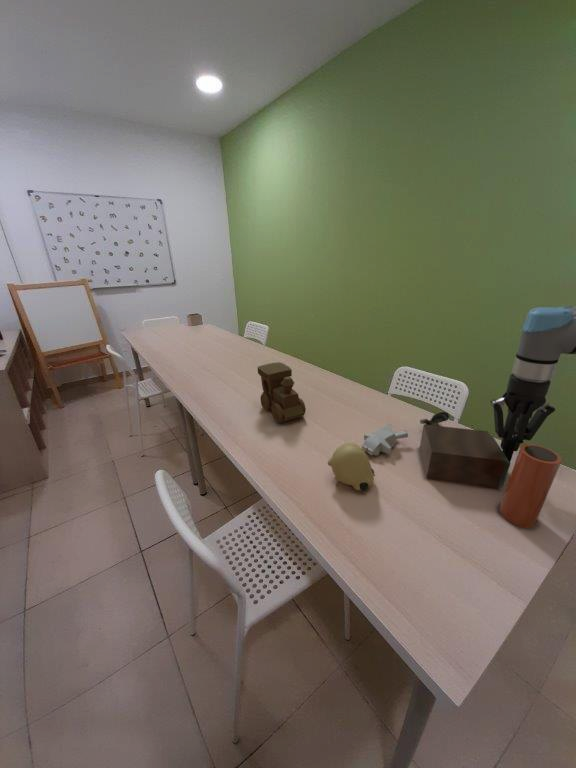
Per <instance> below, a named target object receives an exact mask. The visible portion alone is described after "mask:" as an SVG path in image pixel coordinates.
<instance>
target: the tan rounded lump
mask: <svg viewBox="0 0 576 768" xmlns="http://www.w3.org/2000/svg"><path fill="white" fill-rule="evenodd" d="M327 466H329V467H331V470H332V473H333V475H334V480H335V482H341V483H343V484H345V485H348V486H352V488H353V489H354V490H355V491H359V492H360V491H361V492H365V491H367V490H368V489H369V488H370V487H371V486H372V484H373V482H374V480H375V479H374V478H375V475H376V474H375V470H374V469H373V468H372V464H371V462H370V460H369V457H368V455H367V454H366V452H365V451H364V450H362V446H359V445H358V444H357V443H355V442H349V443H345V444H341V445H340V446H338V447H337V448H336V449H335V450H334V452H333V454H332V456H331V458H330V459H328V461H327Z"/></svg>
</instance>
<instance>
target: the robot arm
mask: <svg viewBox="0 0 576 768" xmlns="http://www.w3.org/2000/svg"><path fill="white" fill-rule="evenodd" d="M562 354H564V355H576V305H573V306H572V305H568V306H566V305H565V306H559V307H553V306H540V307H533V308H532V309H530V310H529V311H528V313H527V316H526V318H525V321H524V324H523V327H522V329H521V335H520V339H519V343H518V347H517V351H516V354H515V356H514V361H513V364H512V368H511V374H510V375H509V379H508V382H507V386H506V390H505V392H504V393H503V394H502V397H501V398H498V399H491V400H490V404H491V406H492V407H493V418H494V432H495V434H496V435H497V436H498V438H499V439H501V442H500V444H499V447H500V448H501V450H502V451H503V453H504V454H505V456H506V457H507V459H508V460H509V462H510V463H511V461H512V458H513V455H514V452H519V451H518V450H520V446H521V445H523V444H524V442H525V440H526V441H531V440H532V439H533V438H534V436H535V435H536V433H537V432H538V431H539V429H540V428H541V426H542V425H543V424H544V422H545V421H546V419H547V418H548V417H549V416H550V415H552V414H553V413H554V412H555V411H556V408H555V407H554V406H553V405H552V404H550V403H549V402H547V399H546V396H547V394H548V392H549V389H550V386H551V383H552V382H551V380H552V379H553V378H554V375H555V371H556V368H557V365H558V362H559V359H560V357H561V355H562ZM505 405H506V407H507V416H506V418H505V423H504V411H503V409H504V407H505ZM534 412H535V413H534Z"/></svg>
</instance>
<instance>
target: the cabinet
mask: <svg viewBox="0 0 576 768" xmlns="http://www.w3.org/2000/svg"><path fill="white" fill-rule="evenodd" d="M490 435H491V434H490V433H489V431H488V430H479V429H471V428H462V427H452V426H442V425H441V426H439V425H437V426H434V425H426V424H423V427H422V432H421V438H420V443H419V453H420V458H421V462H422V466H423V470H424V475H425V478H426V479H427V480H433V481H434V480H435V481H438V482H439V481H440V482H448V483H455V484H460V485H467V486H473V487H481V488H482V487H483V488H489V489H495V490H498V489H499V486H500V485H499V483H500V480H501V477H502V474H503V471H504V468H505V465H506V462H507V461H506V459H505V458H504V456H503V454H502V453H501V451H500V450H499V448H498V447H497V445H496V444H495V442H494V440H493V439H492V437H491V436H492V435H491V436H490Z"/></svg>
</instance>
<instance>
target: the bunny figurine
mask: <svg viewBox="0 0 576 768" xmlns="http://www.w3.org/2000/svg"><path fill="white" fill-rule="evenodd" d="M393 428H394V425H393V424H392V423H387V424H386V425H385V427H379V428H377V430H375V432H374V433H368V432H367V433H364V434H363V441H364V442H363V443H362V445H361V448H362V450H363V451H364V452H365V453H367V454H369V455H370V456H376V457H377V456H379V455H380V453H384V454H388V455H391V454H392V448H393V446H395V444H396V442H397V440H398V439H399V440H400V439H406V438H409V433H408V432H407V430H400V431H396V432H394V431H392V430H393Z"/></svg>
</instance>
